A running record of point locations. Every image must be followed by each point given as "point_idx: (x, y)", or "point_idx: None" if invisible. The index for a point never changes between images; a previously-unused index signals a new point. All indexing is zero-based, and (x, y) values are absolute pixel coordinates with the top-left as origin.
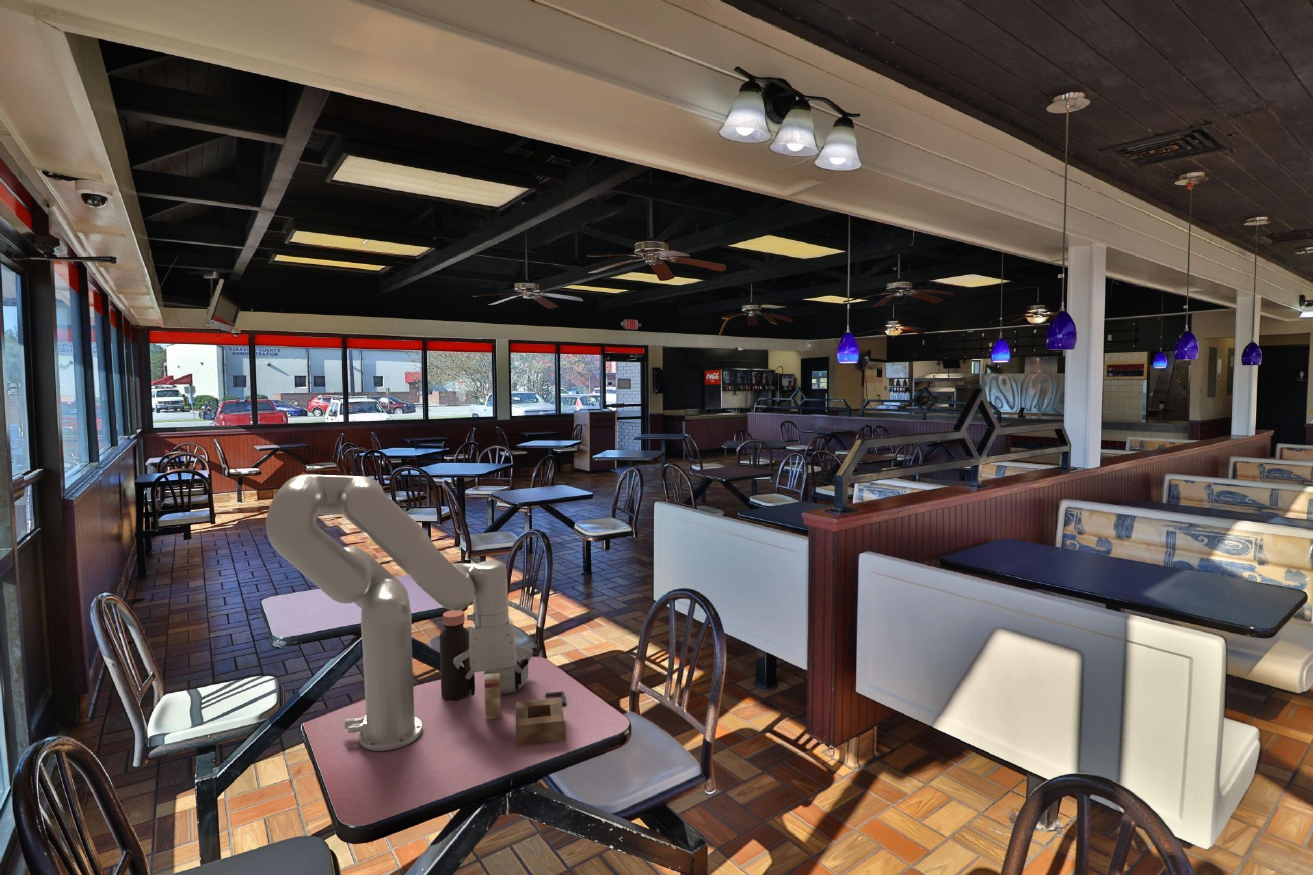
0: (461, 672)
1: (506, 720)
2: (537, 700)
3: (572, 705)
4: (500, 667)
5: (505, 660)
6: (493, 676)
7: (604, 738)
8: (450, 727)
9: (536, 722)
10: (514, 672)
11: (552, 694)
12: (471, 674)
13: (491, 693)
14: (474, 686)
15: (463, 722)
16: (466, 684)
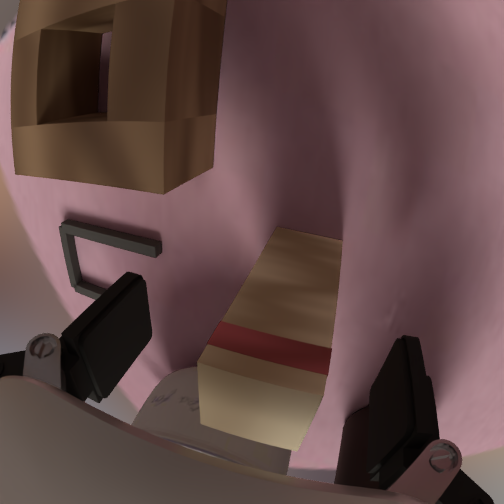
0: (477, 490)
1: (252, 192)
2: (73, 175)
3: (51, 212)
4: (104, 434)
5: (16, 460)
6: (243, 413)
7: (12, 25)
8: (488, 239)
9: None
10: (170, 413)
11: (97, 290)
12: (420, 470)
13: (291, 307)
14: (387, 391)
15: (435, 255)
16: (361, 440)
